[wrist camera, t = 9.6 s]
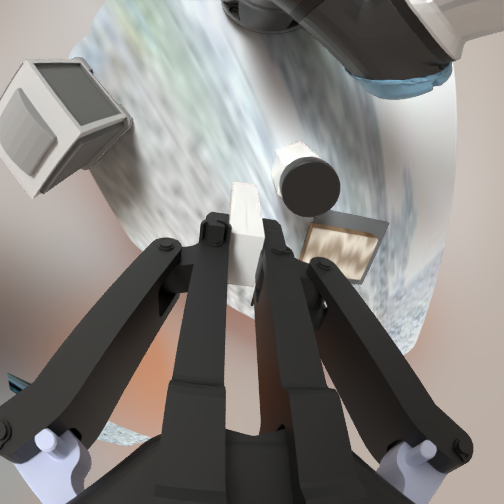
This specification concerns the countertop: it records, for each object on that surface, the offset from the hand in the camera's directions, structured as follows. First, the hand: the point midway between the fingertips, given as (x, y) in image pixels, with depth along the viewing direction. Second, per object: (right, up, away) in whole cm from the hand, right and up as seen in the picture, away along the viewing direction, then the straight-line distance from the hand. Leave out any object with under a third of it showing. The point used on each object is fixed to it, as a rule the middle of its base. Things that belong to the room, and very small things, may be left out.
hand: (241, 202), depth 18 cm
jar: (+8, +12, +28) cm, 32 cm away
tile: (+11, -2, +35) cm, 37 cm away
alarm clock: (-29, +22, +20) cm, 42 cm away
